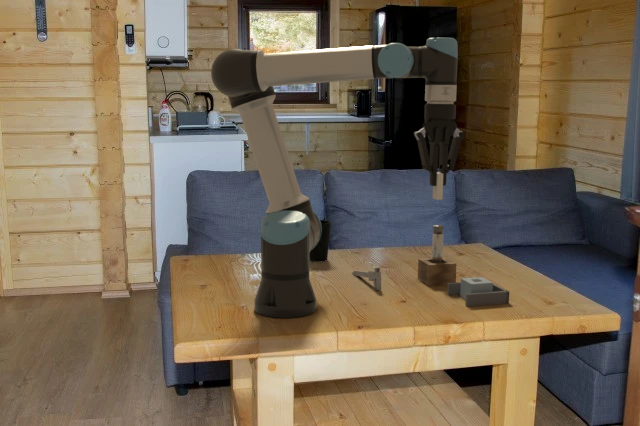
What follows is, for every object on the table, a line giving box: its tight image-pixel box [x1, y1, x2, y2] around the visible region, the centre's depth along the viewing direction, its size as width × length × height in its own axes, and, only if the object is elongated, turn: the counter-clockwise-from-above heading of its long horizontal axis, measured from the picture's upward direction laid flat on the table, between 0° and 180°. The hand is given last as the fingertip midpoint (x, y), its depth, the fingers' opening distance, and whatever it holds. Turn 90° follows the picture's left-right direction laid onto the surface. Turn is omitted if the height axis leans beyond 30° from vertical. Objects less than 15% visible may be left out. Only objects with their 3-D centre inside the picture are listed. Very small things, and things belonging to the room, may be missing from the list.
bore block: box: [417, 256, 457, 287], centre depth 215 cm, size 8×8×6 cm
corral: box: [446, 281, 510, 307], centre depth 197 cm, size 12×12×3 cm
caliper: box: [351, 267, 382, 292], centre depth 214 cm, size 20×1×6 cm, turn 18°
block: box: [459, 276, 494, 301], centre depth 197 cm, size 6×6×5 cm
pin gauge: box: [431, 224, 445, 263], centre depth 214 cm, size 3×3×15 cm
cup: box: [309, 219, 332, 263], centre depth 240 cm, size 8×8×12 cm
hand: (437, 198), depth 190 cm, fingers closed
